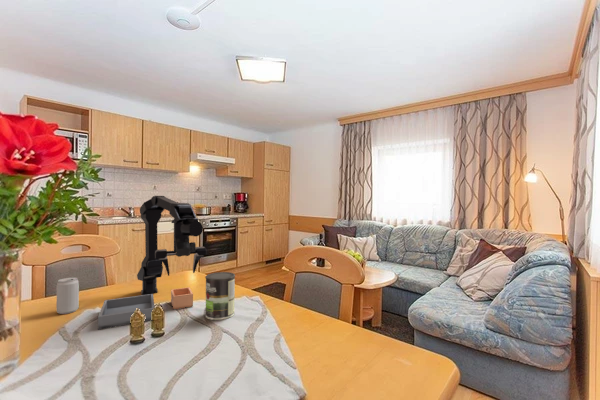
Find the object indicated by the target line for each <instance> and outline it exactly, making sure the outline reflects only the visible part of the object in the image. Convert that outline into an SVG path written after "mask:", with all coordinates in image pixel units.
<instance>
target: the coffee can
mask: <svg viewBox="0 0 600 400" xmlns="http://www.w3.org/2000/svg"><path fill="white" fill-rule="evenodd" d="M204 277H205V318H206V319H208V320H212V321H223V320H226V319H230V318H232V317H233V316H234V315H235V298H236V297H235V287H236V286H235V285H236V284H235V281H236V279H235V278H236V274H235V273H234V272H228V271H221V272H213V273H212V272H211V273H209V274H206V275H205V276H204Z"/></svg>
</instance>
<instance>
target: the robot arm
mask: <svg viewBox="0 0 600 400" xmlns="http://www.w3.org/2000/svg"><path fill="white" fill-rule="evenodd" d="M165 210H166V211H168V212H169V213H168V214H169V215H170V216H171V217H172V218H173V219H172V220H171V222H170V223H171V224H173V250H167V249H166V248H163V249H158V247H159V246H158V223H159V222H160V220H161V218H162V213H163V212H164V211H165ZM139 214H140V219H141V220H142V222H143V224H145V225H144V226H145V227H144V229H145V234H144V235H145V239H144V240H145V241H144V243H145V249H144V250H145V256H144V258H143V259H142V262H141V264H140V266H141V267H140V268H139V269H138V271H137V274H136V278H137V280H138V281H141V282H142V284H141V285H142V286H141V291H140V293H141V294H140V295H148V294H157V293H159V291H158V286H157V282H158V281H157V280H158V279H157V278H162V276H163V275H162V274H163V270H164V267H165V271H166V274H167V276H168V277H169V276H170V266H169V259H168V257H171V256H176V257H177V258H179V257H189V256H190V255H193V261H192V273H193V274H195V273H196V270H197V266H198V263H199V262H200V260H201V259H202V258H204V256H206V255H208V250H207V249H208V248H206V247H205V246H196V245H197V244H196V242H194V241H192V242H190V237H199V236H200V235H201V234H203V231H204V230H203V229H204V227H203V225H202V223H201V222H199V218H197V215H196V213H195V211H194V208H193V207H192V205H191V203H188V202H177V201H175V200H173V199H171V198H168V197H167V196H164V195H154V196H152V197H150V199H148V200H146V201H144V202H143V203H142V205H141V206H140V208H139ZM163 265H164V267H163Z"/></svg>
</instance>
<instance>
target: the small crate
mask: <svg viewBox="0 0 600 400" xmlns="http://www.w3.org/2000/svg"><path fill="white" fill-rule="evenodd" d="M170 303H171V306H173V307H172V310H173V309H176V310H180V309H179V308H182V309H186V308H185V307H188V308H193V307H194V293H193V291H192V289H191V287H190V286H189V287H188V286H187V287H181V288H174V289H173V288H172V289H171V290H170ZM192 306H193V307H192Z"/></svg>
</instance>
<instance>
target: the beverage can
mask: <svg viewBox="0 0 600 400" xmlns="http://www.w3.org/2000/svg"><path fill="white" fill-rule="evenodd" d="M79 285H80V281H79V280H78V277H65V278H61V279H59V280H57V283H56V312H57V313H58V314H60V315H67V314H71V313H74V312H76V311H77V310H78V309H80V308H79V306H80V305H79V303H80V302H79V299H80V296H79V295H80V291H79V290H80V287H79Z"/></svg>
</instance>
